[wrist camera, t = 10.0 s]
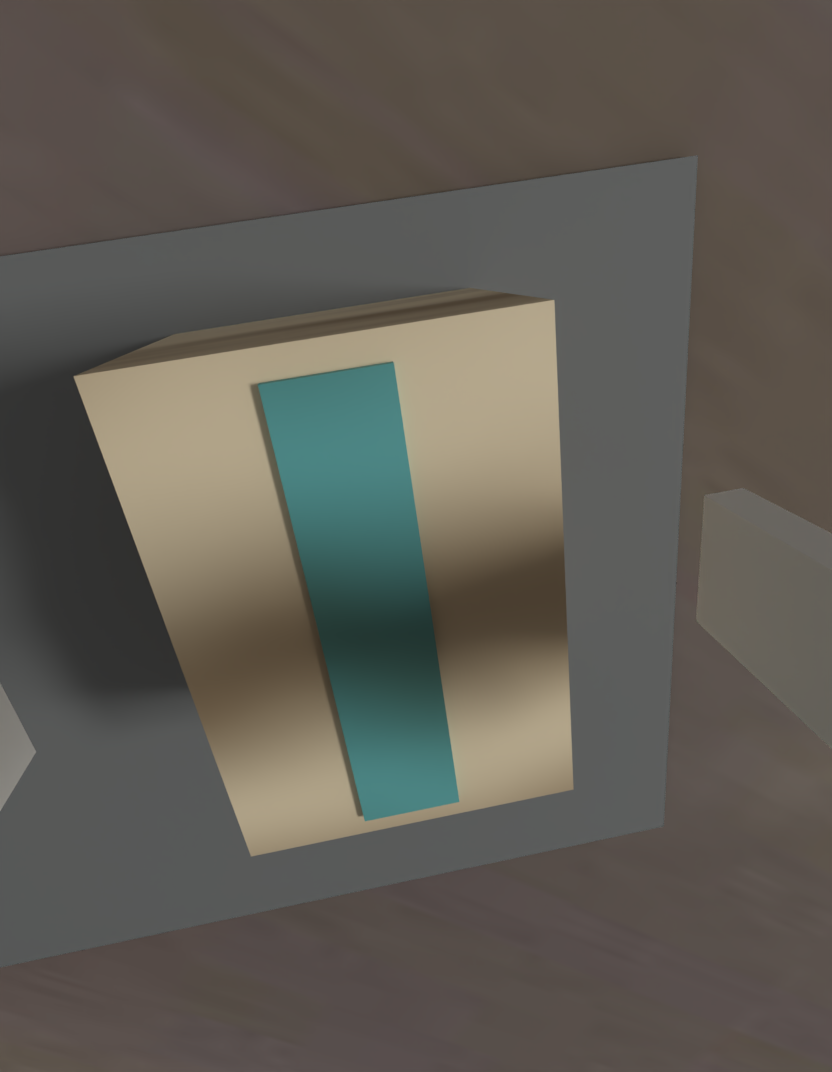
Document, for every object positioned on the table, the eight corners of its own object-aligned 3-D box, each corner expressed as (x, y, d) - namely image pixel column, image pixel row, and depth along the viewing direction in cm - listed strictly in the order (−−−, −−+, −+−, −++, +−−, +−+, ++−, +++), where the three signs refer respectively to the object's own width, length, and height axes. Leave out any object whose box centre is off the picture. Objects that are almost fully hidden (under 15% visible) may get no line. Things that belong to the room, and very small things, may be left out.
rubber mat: (-34, 966, 22) (-38, 975, 21) (-504, 330, 13) (-522, 331, 12) (659, 820, 23) (663, 826, 23) (690, 157, 14) (697, 155, 14)
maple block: (173, 333, 14) (69, 378, 8) (470, 287, 14) (557, 300, 9) (275, 679, 18) (250, 863, 13) (502, 636, 19) (576, 795, 13)
